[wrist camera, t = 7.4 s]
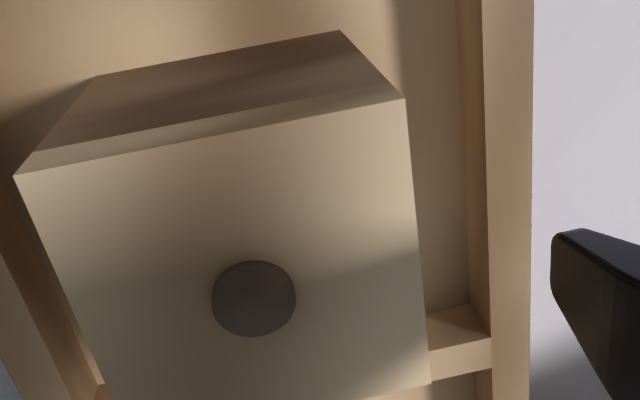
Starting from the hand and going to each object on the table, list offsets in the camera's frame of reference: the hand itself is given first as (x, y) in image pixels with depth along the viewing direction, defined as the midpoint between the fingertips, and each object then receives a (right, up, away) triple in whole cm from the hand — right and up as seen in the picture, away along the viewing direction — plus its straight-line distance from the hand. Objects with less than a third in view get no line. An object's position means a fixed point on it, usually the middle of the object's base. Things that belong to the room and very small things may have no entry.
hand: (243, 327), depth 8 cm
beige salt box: (-1, +3, +5) cm, 6 cm away
